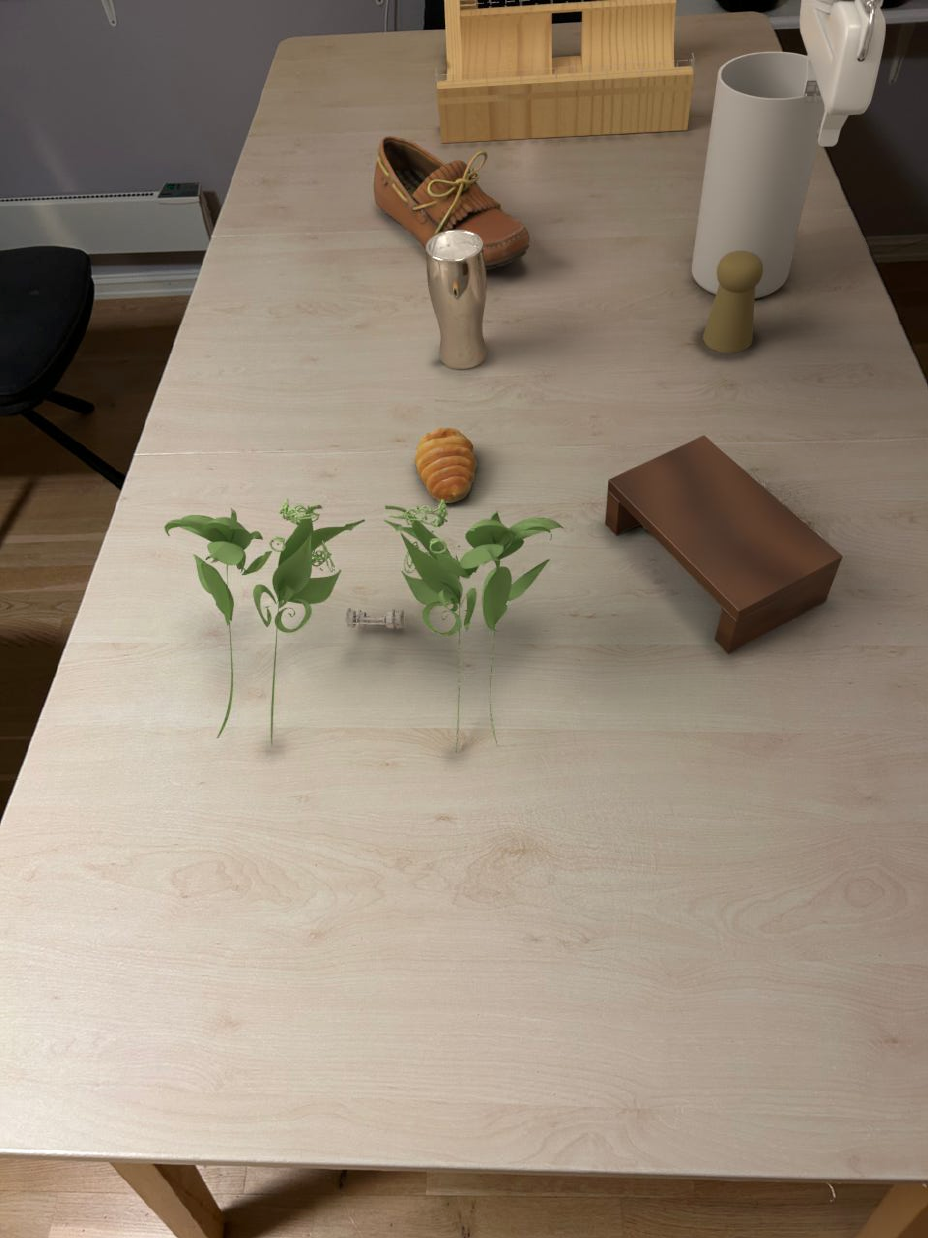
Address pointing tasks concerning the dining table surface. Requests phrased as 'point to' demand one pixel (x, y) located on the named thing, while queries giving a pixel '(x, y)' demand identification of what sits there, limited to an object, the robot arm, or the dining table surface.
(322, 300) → the dining table surface
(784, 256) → the cylinder vase
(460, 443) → the pastry
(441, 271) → the beer glass
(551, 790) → the dining table surface
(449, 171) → the moccasin
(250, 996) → the dining table surface
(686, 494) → the shelf
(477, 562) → the plant cuttings
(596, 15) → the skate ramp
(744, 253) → the olive yellow pawn
